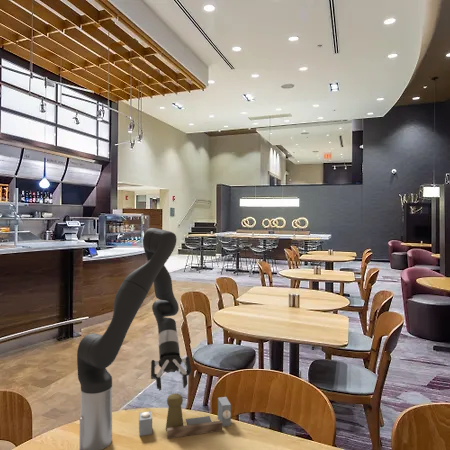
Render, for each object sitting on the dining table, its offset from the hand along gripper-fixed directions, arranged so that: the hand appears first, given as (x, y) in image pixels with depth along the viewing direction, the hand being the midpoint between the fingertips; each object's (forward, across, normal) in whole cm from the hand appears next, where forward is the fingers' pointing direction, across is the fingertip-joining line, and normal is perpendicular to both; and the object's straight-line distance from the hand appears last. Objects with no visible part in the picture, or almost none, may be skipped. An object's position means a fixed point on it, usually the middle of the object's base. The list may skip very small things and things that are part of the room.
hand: (172, 388), depth 128 cm
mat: (+12, +8, +3) cm, 15 cm away
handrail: (+15, +6, 0) cm, 16 cm away
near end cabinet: (+11, -10, +4) cm, 15 cm away
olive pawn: (+12, 0, +4) cm, 12 cm away
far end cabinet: (+12, +17, +3) cm, 21 cm away
